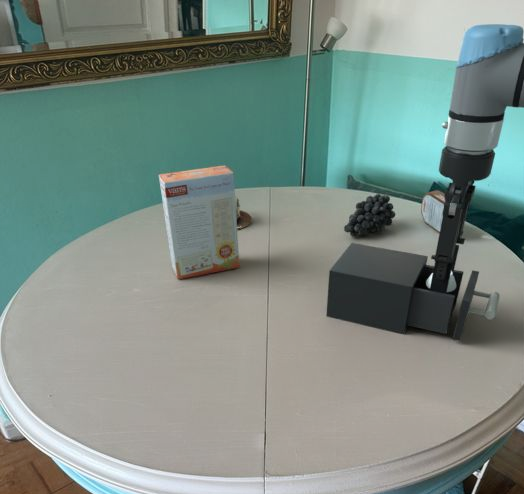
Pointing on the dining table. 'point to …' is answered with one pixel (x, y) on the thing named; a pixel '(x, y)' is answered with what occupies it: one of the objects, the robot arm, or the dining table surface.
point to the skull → (241, 215)
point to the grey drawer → (446, 304)
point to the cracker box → (200, 220)
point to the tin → (433, 209)
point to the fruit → (370, 215)
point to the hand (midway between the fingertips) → (440, 285)
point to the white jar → (450, 285)
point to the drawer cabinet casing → (373, 286)
